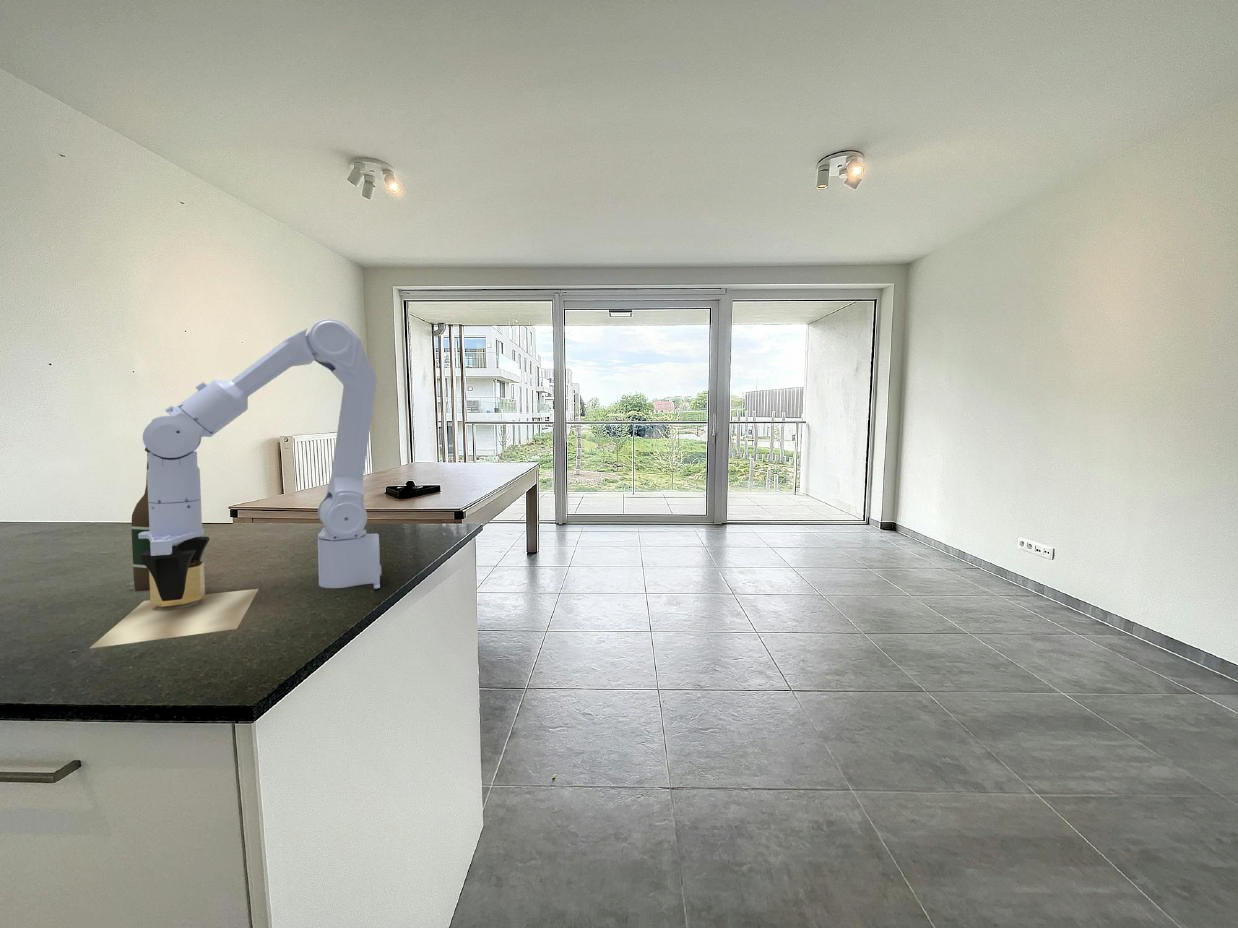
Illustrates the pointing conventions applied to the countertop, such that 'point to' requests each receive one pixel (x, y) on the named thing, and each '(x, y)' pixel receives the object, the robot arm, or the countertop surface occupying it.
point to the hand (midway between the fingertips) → (179, 593)
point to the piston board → (180, 619)
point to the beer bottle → (140, 540)
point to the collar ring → (192, 587)
